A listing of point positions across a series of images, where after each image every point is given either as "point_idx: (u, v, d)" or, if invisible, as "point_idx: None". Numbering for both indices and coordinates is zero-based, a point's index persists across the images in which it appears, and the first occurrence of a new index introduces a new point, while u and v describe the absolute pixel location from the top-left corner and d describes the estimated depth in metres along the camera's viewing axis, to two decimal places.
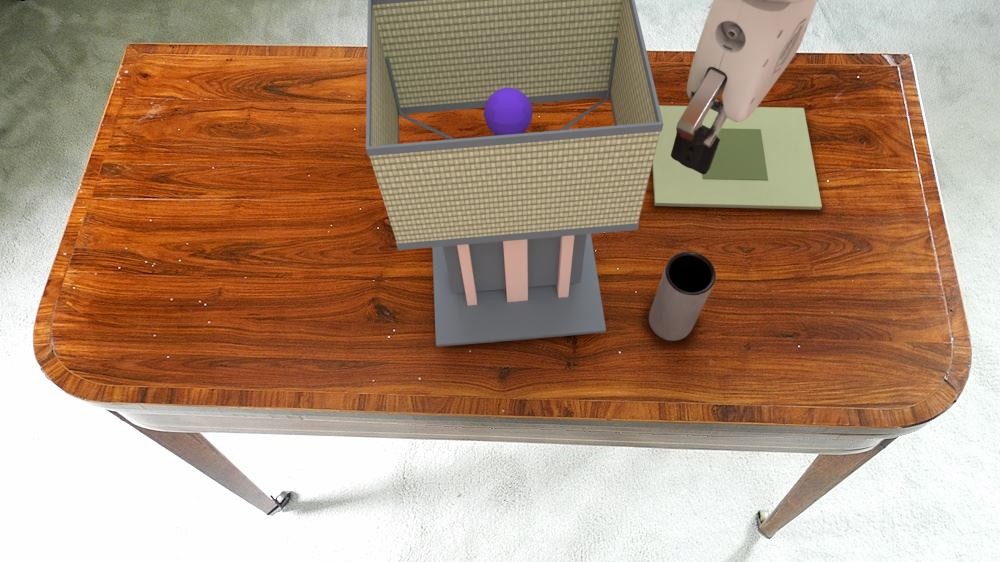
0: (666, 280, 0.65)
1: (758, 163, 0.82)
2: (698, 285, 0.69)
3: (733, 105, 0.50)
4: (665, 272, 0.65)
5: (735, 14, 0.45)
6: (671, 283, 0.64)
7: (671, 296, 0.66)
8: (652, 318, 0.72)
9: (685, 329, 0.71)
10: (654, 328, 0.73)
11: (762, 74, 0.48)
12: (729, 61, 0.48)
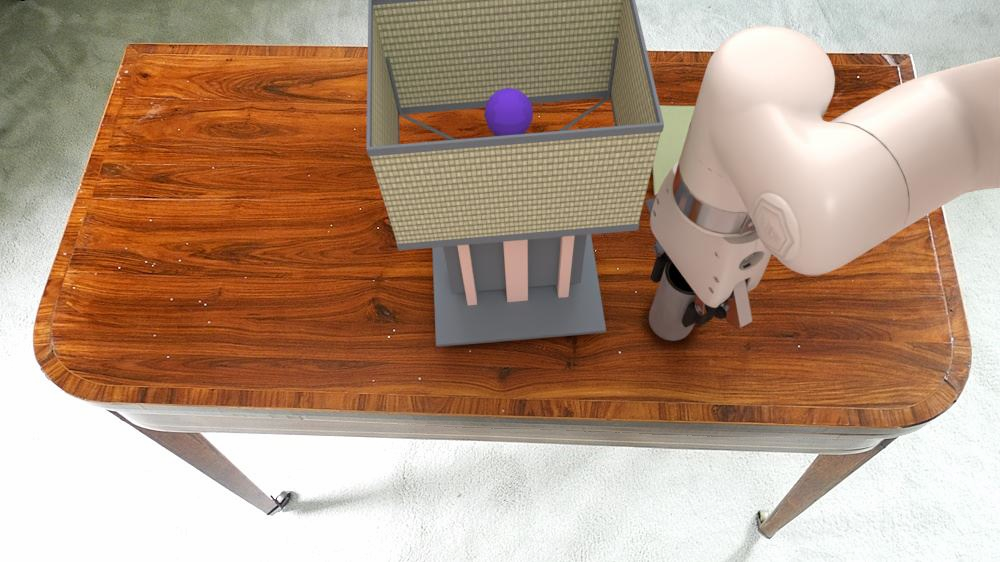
0: (666, 280, 0.65)
1: None
2: None
3: (754, 284, 0.59)
4: (665, 272, 0.65)
5: (753, 248, 0.53)
6: (671, 283, 0.65)
7: (671, 296, 0.66)
8: (652, 318, 0.72)
9: (685, 329, 0.71)
10: (654, 328, 0.73)
11: None
12: (752, 270, 0.56)
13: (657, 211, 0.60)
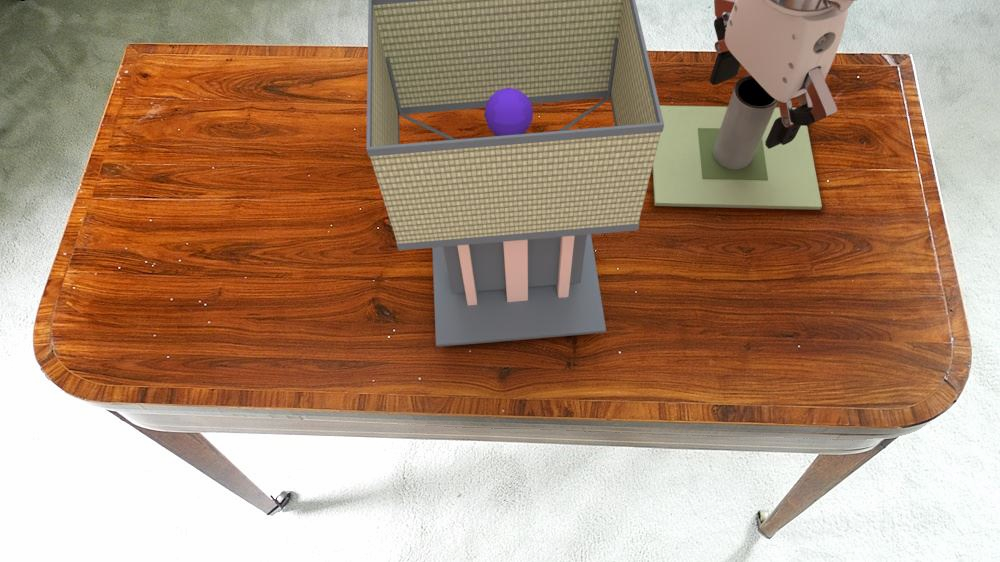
0: (736, 98, 0.74)
1: (758, 163, 0.82)
2: None
3: None
4: (735, 91, 0.74)
5: (827, 28, 0.61)
6: (741, 99, 0.73)
7: (740, 113, 0.74)
8: (717, 148, 0.81)
9: (748, 154, 0.79)
10: (719, 158, 0.81)
11: None
12: (823, 56, 0.64)
13: (735, 19, 0.69)
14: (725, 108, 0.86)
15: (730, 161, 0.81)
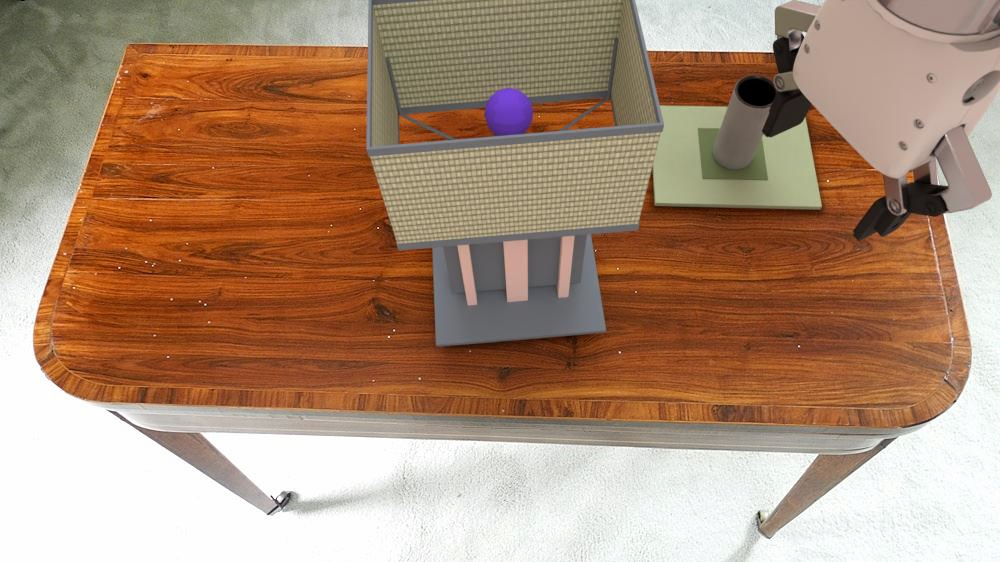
0: (736, 97, 0.74)
1: (758, 163, 0.82)
2: None
3: None
4: (735, 91, 0.74)
5: (993, 63, 0.35)
6: (741, 99, 0.73)
7: (739, 113, 0.74)
8: (717, 148, 0.81)
9: (748, 154, 0.79)
10: (719, 158, 0.81)
11: None
12: (974, 109, 0.38)
13: (814, 42, 0.42)
14: (725, 108, 0.86)
15: (730, 161, 0.81)
